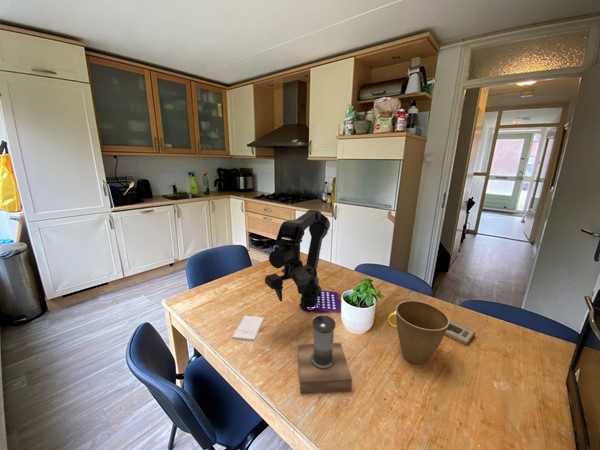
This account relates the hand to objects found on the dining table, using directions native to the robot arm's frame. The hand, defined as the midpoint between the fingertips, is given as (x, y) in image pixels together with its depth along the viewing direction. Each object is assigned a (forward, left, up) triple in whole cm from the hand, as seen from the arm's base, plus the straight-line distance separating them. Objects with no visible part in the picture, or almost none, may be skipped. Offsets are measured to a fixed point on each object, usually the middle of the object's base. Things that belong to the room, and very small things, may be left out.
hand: (291, 297), depth 92 cm
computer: (-49, +33, -14) cm, 60 cm away
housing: (+3, +22, -9) cm, 24 cm away
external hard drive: (+14, -8, -14) cm, 21 cm away
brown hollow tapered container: (-26, +34, -13) cm, 45 cm away
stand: (+3, +22, -13) cm, 26 cm away
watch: (-34, +21, -13) cm, 42 cm away
